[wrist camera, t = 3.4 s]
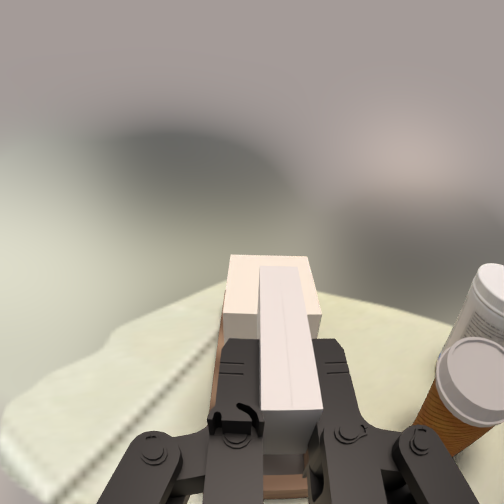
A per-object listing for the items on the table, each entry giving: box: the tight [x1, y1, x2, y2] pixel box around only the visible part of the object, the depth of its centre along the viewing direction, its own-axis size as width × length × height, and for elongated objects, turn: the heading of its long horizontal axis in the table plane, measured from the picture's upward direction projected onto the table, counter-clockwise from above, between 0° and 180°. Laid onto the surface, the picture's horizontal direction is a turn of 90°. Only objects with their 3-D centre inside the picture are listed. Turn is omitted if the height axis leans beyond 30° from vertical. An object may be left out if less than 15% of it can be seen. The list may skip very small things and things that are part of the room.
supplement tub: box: [436, 263, 504, 366], centre depth 29 cm, size 10×10×15 cm
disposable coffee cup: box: [412, 337, 504, 457], centre depth 22 cm, size 10×10×12 cm
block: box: [223, 255, 322, 345], centre depth 26 cm, size 7×6×15 cm
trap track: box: [203, 290, 309, 499], centre depth 33 cm, size 28×10×3 cm, turn 179°
